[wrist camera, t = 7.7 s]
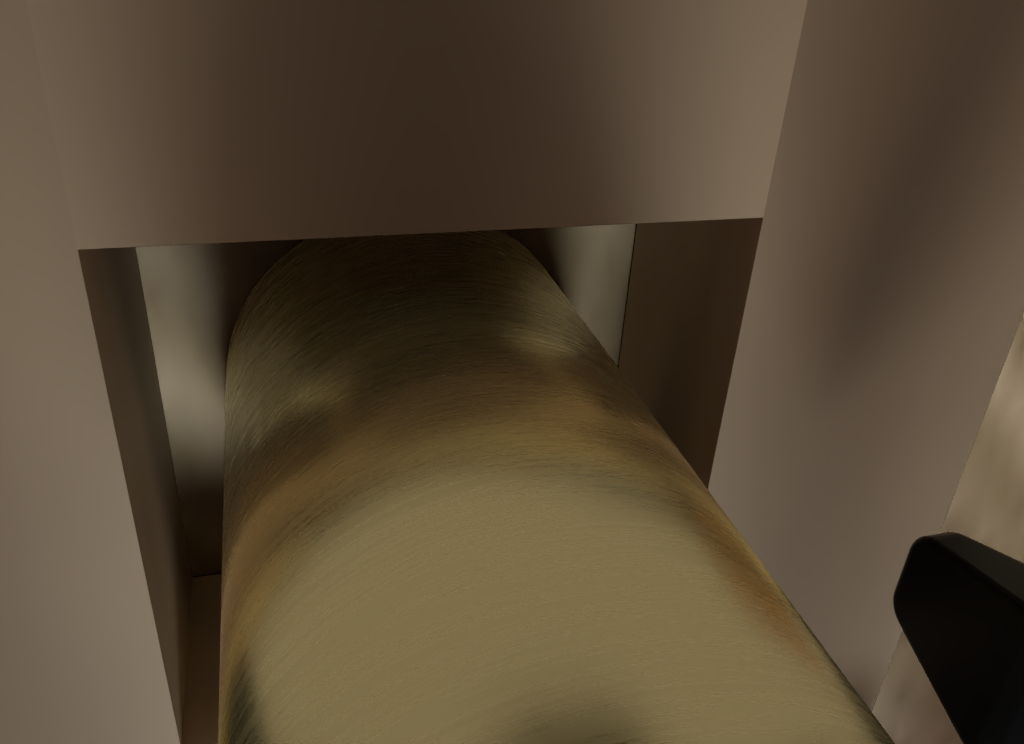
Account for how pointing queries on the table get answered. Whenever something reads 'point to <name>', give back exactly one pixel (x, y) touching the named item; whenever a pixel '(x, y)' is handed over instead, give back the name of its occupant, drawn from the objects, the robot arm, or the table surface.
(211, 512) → the table surface
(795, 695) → the cylinder
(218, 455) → the table surface
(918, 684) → the table surface
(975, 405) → the jig
